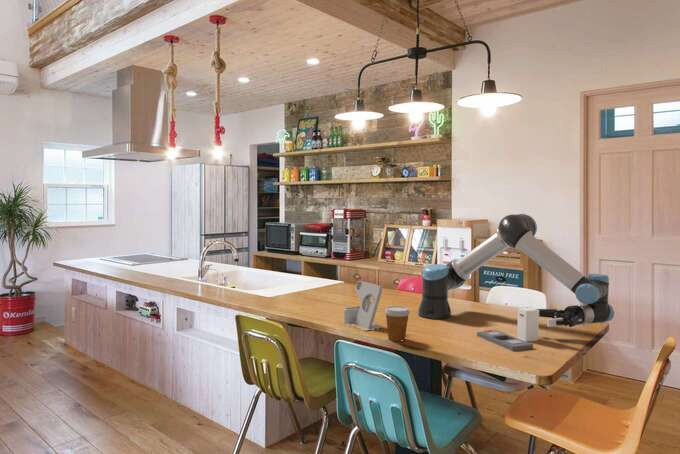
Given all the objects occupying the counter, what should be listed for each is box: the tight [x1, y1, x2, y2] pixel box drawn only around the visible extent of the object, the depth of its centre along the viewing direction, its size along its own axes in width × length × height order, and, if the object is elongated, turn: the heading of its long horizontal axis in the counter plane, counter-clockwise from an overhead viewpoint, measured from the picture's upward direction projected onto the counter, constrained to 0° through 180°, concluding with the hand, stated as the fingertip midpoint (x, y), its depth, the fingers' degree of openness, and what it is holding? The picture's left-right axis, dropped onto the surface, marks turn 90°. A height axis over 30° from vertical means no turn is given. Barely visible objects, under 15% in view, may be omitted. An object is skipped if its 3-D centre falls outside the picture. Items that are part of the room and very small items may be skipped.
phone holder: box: [342, 280, 384, 331], centre depth 207 cm, size 17×10×18 cm, turn 35°
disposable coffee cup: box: [384, 305, 411, 342], centre depth 186 cm, size 10×10×12 cm
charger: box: [516, 307, 540, 342], centre depth 183 cm, size 4×6×13 cm
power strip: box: [476, 328, 534, 352], centre depth 179 cm, size 20×9×4 cm, turn 20°
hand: (534, 318), depth 183 cm, fingers open, 13 cm apart
